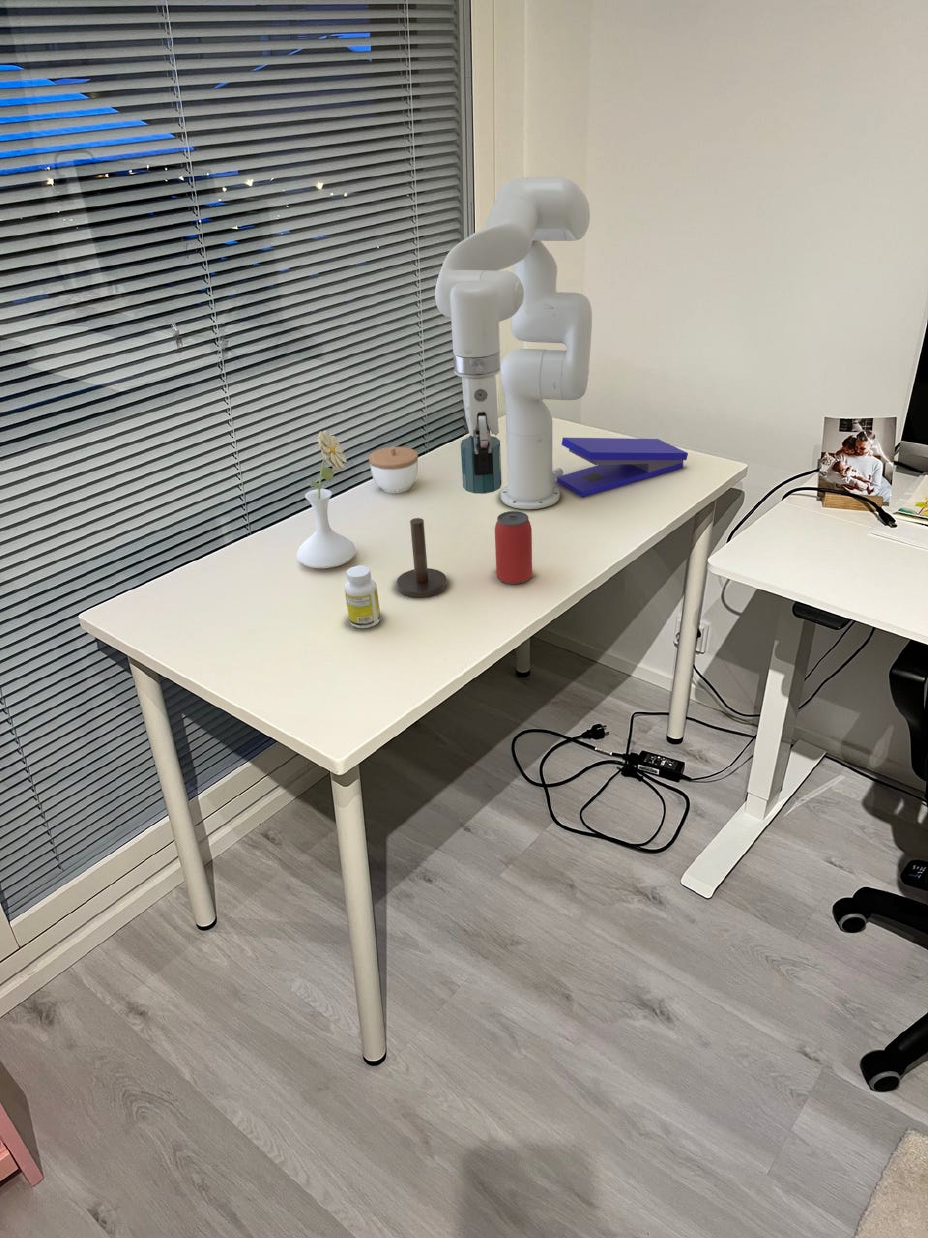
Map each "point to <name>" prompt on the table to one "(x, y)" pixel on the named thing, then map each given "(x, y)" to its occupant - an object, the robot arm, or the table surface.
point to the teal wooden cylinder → (480, 482)
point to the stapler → (618, 462)
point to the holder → (420, 568)
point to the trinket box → (394, 468)
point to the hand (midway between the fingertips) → (481, 464)
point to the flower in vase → (325, 515)
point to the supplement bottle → (361, 598)
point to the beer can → (513, 547)
